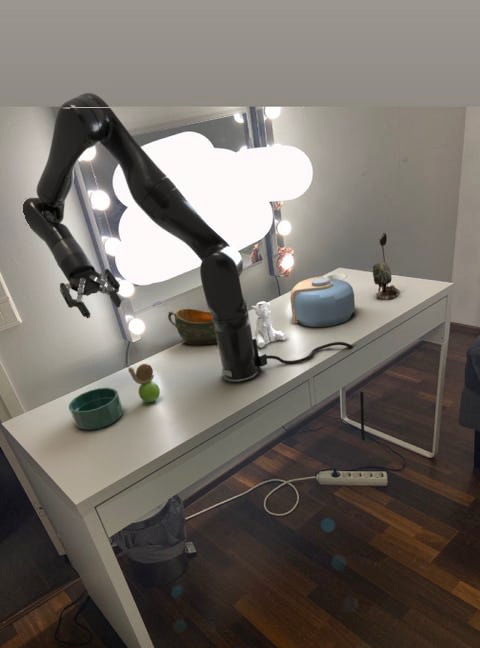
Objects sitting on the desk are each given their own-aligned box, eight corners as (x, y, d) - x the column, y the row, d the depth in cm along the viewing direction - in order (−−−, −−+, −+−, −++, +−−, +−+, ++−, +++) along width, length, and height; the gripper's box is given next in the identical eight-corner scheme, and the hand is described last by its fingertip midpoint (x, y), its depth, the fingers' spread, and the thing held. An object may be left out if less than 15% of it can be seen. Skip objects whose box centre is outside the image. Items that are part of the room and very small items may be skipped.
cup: (201, 327, 170) (195, 299, 165) (239, 338, 156) (233, 307, 151) (171, 341, 164) (164, 312, 159) (207, 353, 150) (200, 321, 145)
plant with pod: (365, 300, 167) (363, 238, 156) (386, 289, 172) (385, 229, 162) (385, 303, 161) (384, 239, 150) (406, 292, 166) (406, 230, 156)
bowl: (113, 401, 133) (106, 383, 130) (131, 416, 124) (125, 397, 121) (70, 420, 127) (62, 401, 125) (86, 437, 118) (78, 417, 116)
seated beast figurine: (259, 349, 146) (253, 310, 140) (246, 341, 153) (240, 304, 147) (287, 339, 149) (282, 301, 143) (273, 332, 156) (268, 295, 149)
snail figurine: (134, 403, 129) (121, 362, 123) (155, 393, 132) (143, 352, 126) (145, 409, 125) (131, 367, 119) (165, 399, 128) (154, 357, 122)
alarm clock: (316, 303, 172) (313, 268, 165) (366, 309, 158) (365, 272, 152) (281, 323, 161) (276, 287, 155) (332, 331, 148) (329, 292, 142)
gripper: (46, 259, 121) (79, 311, 119) (99, 244, 128) (130, 293, 126) (47, 277, 128) (77, 328, 126) (96, 262, 135) (127, 310, 133)
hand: (104, 310), depth 126 cm, fingers open, 8 cm apart
